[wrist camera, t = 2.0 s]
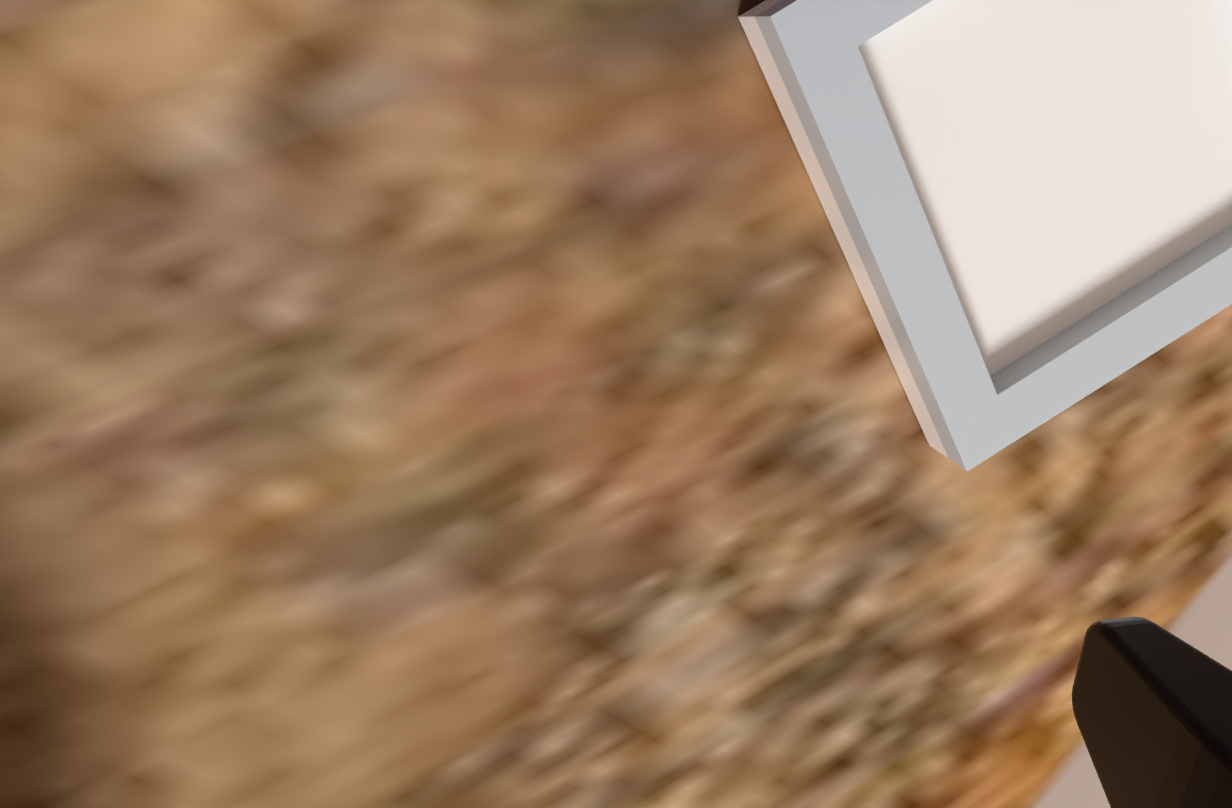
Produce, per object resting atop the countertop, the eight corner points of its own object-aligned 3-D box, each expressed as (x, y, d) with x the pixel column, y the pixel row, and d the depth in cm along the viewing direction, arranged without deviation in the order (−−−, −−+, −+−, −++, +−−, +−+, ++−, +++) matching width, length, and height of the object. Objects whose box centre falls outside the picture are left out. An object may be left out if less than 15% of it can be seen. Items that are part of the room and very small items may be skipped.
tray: (929, 444, 23) (967, 471, 21) (738, 16, 19) (770, 16, 17) (1305, 207, 23) (1365, 218, 22) (1200, -264, 19) (1267, -286, 18)
